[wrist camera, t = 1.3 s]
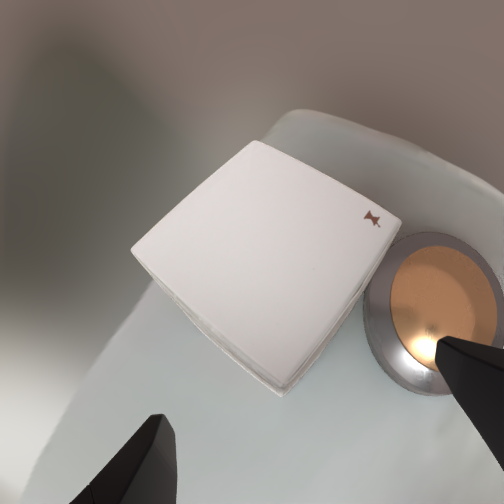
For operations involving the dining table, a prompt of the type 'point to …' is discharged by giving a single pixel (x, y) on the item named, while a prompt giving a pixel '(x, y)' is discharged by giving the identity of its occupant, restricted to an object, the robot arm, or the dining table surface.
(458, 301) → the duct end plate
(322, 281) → the supplement box
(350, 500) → the dining table surface
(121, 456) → the robot arm
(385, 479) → the dining table surface
